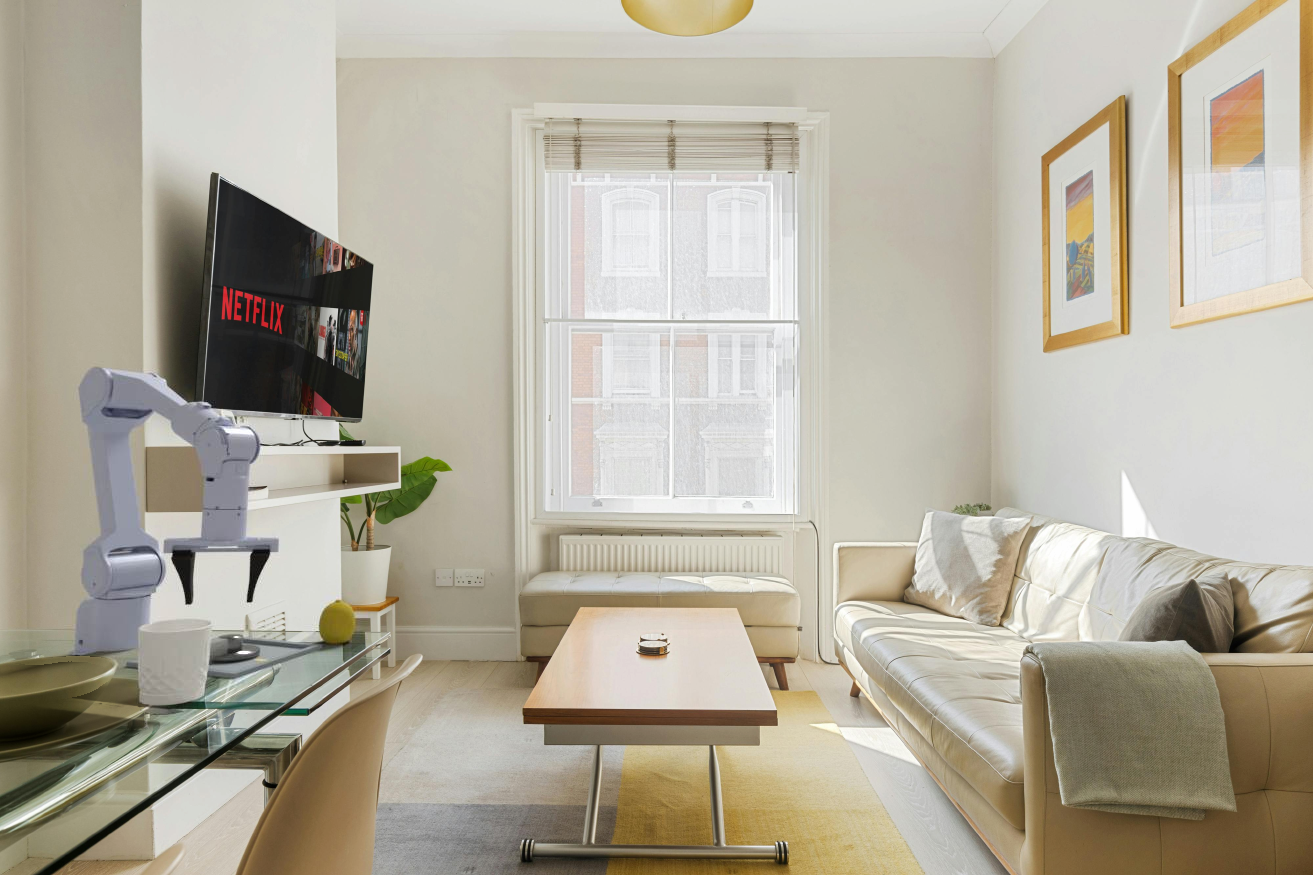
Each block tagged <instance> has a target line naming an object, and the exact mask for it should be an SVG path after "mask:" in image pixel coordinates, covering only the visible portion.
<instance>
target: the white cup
mask: <svg viewBox="0 0 1313 875" xmlns="http://www.w3.org/2000/svg"><path fill="white" fill-rule="evenodd" d="M213 626H214V622H213V621H211V620H207V619H201V618H200V619H199V618H180V619H179V618H177V619H165V620H159V621H153V622H150V623H148V624H144V625H142V626H140V627H139V628H138V648H137V659H138V668H137V671H138V680H137V681H138V682H137V683H138V684H137V685H138V688H139V692H138V693H139V695H138V696H139V697H138V698H139V700H138V701H139V703H141V704H143V705H147V704H148V706H150V707H151V706H171V705H178V704H185V703H188V702H193V701H195V700H199V698H202V697H204V695H205V688H206V682H207V680H208V676H207V672H208V666H209V657H210V647H211V639H212V635H213V634H212V633H213ZM184 712H185V711H184V710H176V709H167V708H159V707H151V708H150V710H149V713H150V714H149V715H154V714H157V715H171V714H178V713H179V714H180V713H184Z"/></svg>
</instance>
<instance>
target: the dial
mask: <svg viewBox="0 0 1313 875" xmlns="http://www.w3.org/2000/svg"><path fill="white" fill-rule="evenodd" d="M243 637H244V634H239V633H230V634H224V635H223V634H222V635H219V636H218V637H216V638H217V639H214V638H212V639H213V640H211V647H210V657H209V664H212V663H215V662H233V661H241V660H246V659H250V658H254V657H256V656H258V655H259V654H260V647H258V646H255V645H245V644H243Z"/></svg>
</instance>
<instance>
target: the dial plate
mask: <svg viewBox="0 0 1313 875" xmlns="http://www.w3.org/2000/svg"><path fill="white" fill-rule="evenodd" d="M217 638H218V637H214V638H211V640H213V639H217ZM243 644H245V645H255V646H258V647H260V654H259V655H258V656H256V657H254V658H250V659H246V660H241V661H233V662H215V663H212V664H209V666H208V672H207V677H215V678H216V677H218V678H225V679H238V678H241V677H243V676H246V675H249V674H253V673H255V672H259V671H261V670H265V669H267V668H270V667H273V666H276V665H280V664H281V663H285V662H287V661H291V660H293V659H296V658H299V657H302V656H305V655H308V654H310V653H314V652H317V651H319V650H322V649H323V644H320V643H319V644H317V643H310V642H309V643H308V642H300V641H299V642H298V641H297V642H296V641H288V640H276V639H269V638H268V639H266V638H257V637H246V636H243ZM125 665H126V667H129V668H135V669H138V658H136V659H131V660H128V661H126V664H125Z"/></svg>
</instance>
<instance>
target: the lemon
mask: <svg viewBox="0 0 1313 875" xmlns="http://www.w3.org/2000/svg"><path fill="white" fill-rule="evenodd" d="M355 628H356V615H355V611H354V609H353V607H352V606H351V605H349V604H348V603H347V602H345V601H343V600H341V599H335V601H334V602H330V603H329V604H328V605H327V606H325V608H324V609H323V610H322V612H321V614H320V618H319V622H318V631H319V635H320V638H321V639H322V640H323V641H324V642H325V643H326V644H328V645H329V644H332V645H333V644H334V645H335V644H337V645H338V644H344V643H347V642H348V641H349V640H350V639H351V638H352V636H353V635H354V632H355V630H356V629H355Z"/></svg>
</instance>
